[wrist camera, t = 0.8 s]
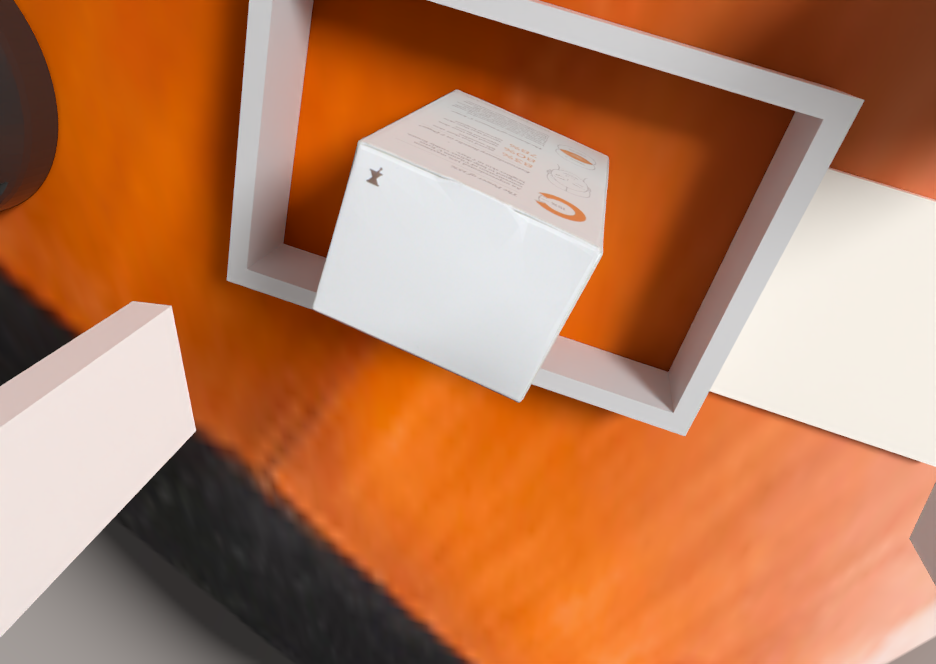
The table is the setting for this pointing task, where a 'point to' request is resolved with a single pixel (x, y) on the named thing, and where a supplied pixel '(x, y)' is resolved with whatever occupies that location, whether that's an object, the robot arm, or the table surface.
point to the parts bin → (568, 362)
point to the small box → (466, 239)
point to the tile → (849, 321)
